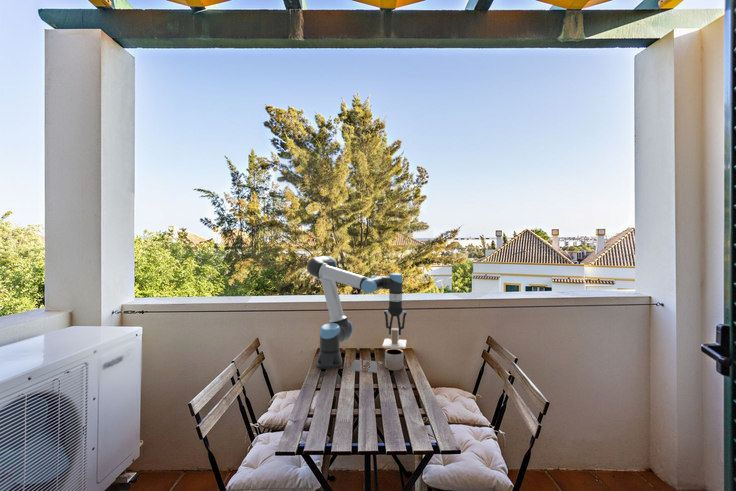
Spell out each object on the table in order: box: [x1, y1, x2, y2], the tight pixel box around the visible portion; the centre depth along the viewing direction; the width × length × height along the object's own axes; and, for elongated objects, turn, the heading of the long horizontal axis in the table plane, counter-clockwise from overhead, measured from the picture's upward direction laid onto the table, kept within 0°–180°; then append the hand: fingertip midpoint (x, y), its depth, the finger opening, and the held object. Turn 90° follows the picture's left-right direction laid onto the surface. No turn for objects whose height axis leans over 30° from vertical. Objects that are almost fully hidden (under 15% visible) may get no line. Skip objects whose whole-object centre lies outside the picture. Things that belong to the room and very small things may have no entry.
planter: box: [384, 348, 404, 371], centre depth 217 cm, size 11×11×10 cm
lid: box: [382, 327, 408, 350], centre depth 216 cm, size 13×13×9 cm
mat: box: [349, 359, 383, 374], centre depth 217 cm, size 17×17×1 cm
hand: (394, 340), depth 216 cm, fingers closed on lid, 3 cm apart
